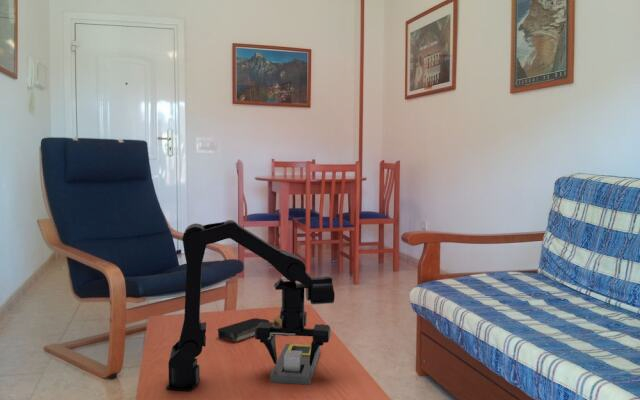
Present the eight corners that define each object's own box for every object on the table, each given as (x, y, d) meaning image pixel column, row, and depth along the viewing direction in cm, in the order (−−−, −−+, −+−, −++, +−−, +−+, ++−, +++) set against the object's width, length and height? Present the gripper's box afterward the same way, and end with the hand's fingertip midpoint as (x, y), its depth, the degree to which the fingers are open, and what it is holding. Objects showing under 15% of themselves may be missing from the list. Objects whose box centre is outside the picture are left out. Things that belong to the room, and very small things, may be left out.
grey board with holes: (270, 382, 129) (270, 373, 129) (285, 350, 150) (285, 342, 150) (310, 384, 128) (310, 375, 128) (320, 352, 149) (320, 344, 149)
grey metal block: (284, 379, 131) (284, 356, 131) (286, 372, 135) (286, 350, 135) (299, 379, 131) (299, 357, 130) (302, 373, 135) (302, 350, 134)
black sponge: (232, 345, 154) (232, 333, 154) (215, 338, 160) (215, 327, 159) (272, 331, 166) (272, 320, 166) (255, 325, 172) (255, 315, 172)
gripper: (332, 297, 138) (332, 354, 140) (264, 294, 140) (264, 350, 142) (328, 310, 127) (327, 371, 129) (254, 307, 129) (254, 367, 131)
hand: (293, 364), depth 133 cm, fingers open, 9 cm apart
